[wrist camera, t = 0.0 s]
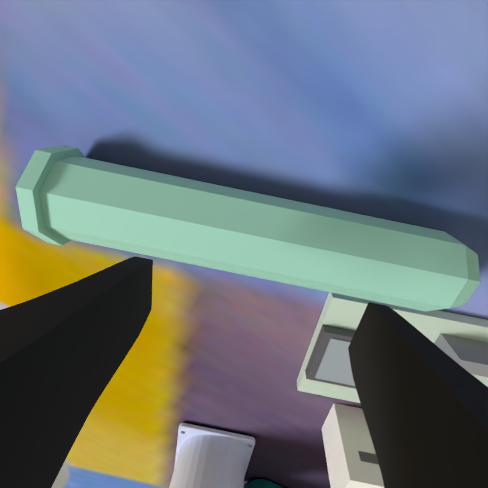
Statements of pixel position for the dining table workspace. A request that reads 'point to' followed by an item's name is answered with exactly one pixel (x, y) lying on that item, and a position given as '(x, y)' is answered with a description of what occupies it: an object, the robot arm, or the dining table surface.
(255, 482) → the green bottle
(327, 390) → the outlet plate
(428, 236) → the container
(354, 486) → the block
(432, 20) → the dining table surface
